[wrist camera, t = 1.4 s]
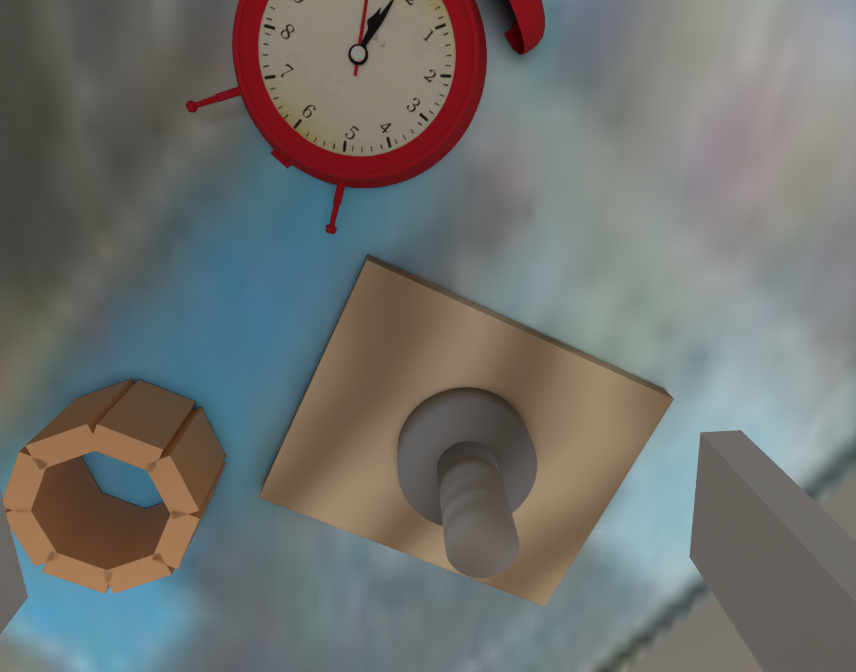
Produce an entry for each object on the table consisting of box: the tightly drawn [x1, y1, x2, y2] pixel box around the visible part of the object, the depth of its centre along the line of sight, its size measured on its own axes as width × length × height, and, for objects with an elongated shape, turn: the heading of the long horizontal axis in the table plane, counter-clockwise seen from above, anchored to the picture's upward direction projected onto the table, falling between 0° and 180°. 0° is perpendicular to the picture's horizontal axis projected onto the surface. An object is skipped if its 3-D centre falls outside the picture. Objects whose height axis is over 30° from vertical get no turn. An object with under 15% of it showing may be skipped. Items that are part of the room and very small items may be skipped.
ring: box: [3, 379, 226, 593], centre depth 33 cm, size 8×8×5 cm
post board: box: [259, 255, 673, 606], centre depth 31 cm, size 16×13×9 cm
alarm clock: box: [186, 0, 545, 234], centre depth 28 cm, size 10×6×15 cm
